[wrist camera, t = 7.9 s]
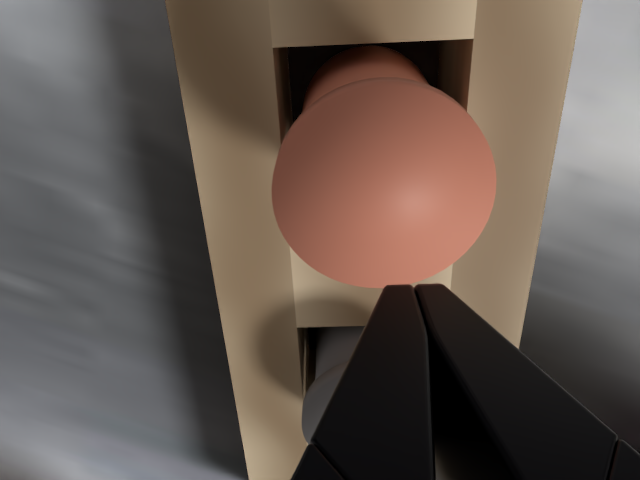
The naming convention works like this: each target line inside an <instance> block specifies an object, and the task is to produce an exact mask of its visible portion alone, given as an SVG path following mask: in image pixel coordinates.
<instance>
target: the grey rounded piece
mask: <svg viewBox="0 0 640 480" xmlns="http://www.w3.org/2000/svg"><path fill="white" fill-rule="evenodd" d="M364 328H365V326H339V327H317V348H316V376H315V381H314V382H313V383H312V384H311V386H310V387H309V389H308V391H307V392H306V395H305V397H304V400H303V406H302V431H303V435H304V438H305V440H306V442H307V443H308V445H309V444H310V440H311V437H312V435H313V433H314V431H315V429H316V427H317V425H318V423H319V421H320V419H321V417H322V415H323V413H324V410H325V408H326V406H327V404H328V402H329V400H330V398H331V396H332V394H333V392H334V390H335V388H336V386H337V384H338V381H339V379H340V377H341V375H342V373H343V371H344V369H345V367H346V365H347V363H348V361H349V359H350V357H351V355H352V352H353V350H354V348H355V346H356V344H357V342H358V340H359V338H360V336H361V334H362V332H363V330H364Z"/></svg>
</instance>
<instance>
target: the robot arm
mask: <svg viewBox="0 0 640 480" xmlns="http://www.w3.org/2000/svg"><path fill="white" fill-rule="evenodd" d="M617 439H618V436H617V434H616V433H615V432H613V431H612V430H611V429H610V428H609V427H608V426H607V425H605V424H604V423H603V422H602V421H601V420H600V419H598V418H597V417H596V416H595V415H594V414H593V413H592V412H590V411H589V410H588V409H587V408H586V407H585V406H583V405H582V404H581V403H580V402H579V401H578V400H577V399H575V398H574V397H573V396H572V395H571V394H570V393H568V392H567V391H566V390H565V389H564V388H563V387H562V386H560V385H559V384H558V383H557V382H556V381H555V380H553V379H552V378H551V377H550V376H549V375H548V374H547V373H545V372H544V371H543V370H542V369H541V368H540V367H538V366H537V365H536V364H535V363H534V362H533V361H532V360H530V359H529V358H528V357H527V356H526V355H525V354H523V353H522V352H521V351H520V350H519V349H518V348H517V347H515V346H514V345H513V344H512V343H511V342H510V341H508V340H507V339H506V338H505V337H504V336H503V335H502V334H500V333H499V332H498V331H497V330H496V329H495V328H493V327H492V326H491V325H490V324H489V323H488V322H487V321H485V320H484V319H483V318H482V317H481V316H480V315H478V314H477V313H476V312H475V311H474V310H473V309H472V308H470V307H469V306H468V305H467V304H466V303H465V302H463V301H462V300H461V299H460V298H459V297H458V296H456V295H455V294H454V293H453V292H452V291H451V290H450V289H448V288H447V287H446V286H445V285H443V284H440V283H433V284H417V285H415V287H413V286H412V285H410V284H395V285H386V286H385V287H384V288H383V290H382V292H381V294H380V297H379V299H378V301H377V303H376V305H375V307H374V309H373V311H372V313H371V315H370V317H369V319H368V321H367V323H366V326H365V328H364V330H363V332H362V334H361V336H360V338H359V340H358V342H357V344H356V346H355V348H354V350H353V352H352V355H351V357H350V359H349V361H348V363H347V365H346V367H345V369H344V371H343V373H342V375H341V377H340V379H339V381H338V384H337V386H336V388H335V390H334V392H333V394H332V396H331V398H330V400H329V402H328V404H327V406H326V408H325V410H324V413H323V415H322V417H321V419H320V421H319V423H318V425H317V427H316V429H315V431H314V433H313V435H312V437H311V440H310V444H309V445H307V447H306V449H305V451H304V453H303V455H302V457H301V459H300V462H299V464H298V466H297V468H296V470H295V472H294V474H293V475H292V477H291V479H290V480H640V454H639V453H638V452H637V451H636V450H635V449H633V448H632V447H631V446H630V445H629V444H628V443H627V442H625V441H624V440H618V441H617Z"/></svg>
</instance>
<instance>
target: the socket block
mask: <svg viewBox="0 0 640 480" xmlns="http://www.w3.org/2000/svg"><path fill="white" fill-rule="evenodd" d="M582 1H583V0H165V4H166V10H167V15H168V21H169V27H170V32H171V38H172V44H173V49H174V55H175V61H176V66H177V72H178V78H179V84H180V89H181V95H182V101H183V106H184V112H185V118H186V123H187V129H188V135H189V140H190V146H191V152H192V158H193V163H194V169H195V175H196V180H197V186H198V192H199V197H200V203H201V209H202V214H203V220H204V226H205V231H206V237H207V243H208V249H209V254H210V260H211V266H212V271H213V277H214V283H215V288H216V294H217V300H218V305H219V311H220V317H221V323H222V328H223V334H224V340H225V345H226V351H227V357H228V362H229V368H230V374H231V379H232V385H233V391H234V397H235V402H236V408H237V414H238V419H239V425H240V431H241V436H242V442H243V448H244V453H245V459H246V465H247V471H248V476H249V480H290V479H291V477H292V475H293V474H294V472H295V470H296V468H297V466H298V464H299V462H300V459H301V457H302V455H303V453H304V451H305V449H306V447H307V445H308V443H307V442H306V440H305V438H304V435H303V431H302V406H303V400H304V397H305V395H306V392H307V391H308V389H309V387H310V386H311V384H312V383H313V382H314V381H315V376H316V349H310V347H309V334H308V327H339V326H366V323H367V321H368V319H369V317H370V315H371V313H372V311H373V309H374V307H375V305H376V303H377V301H378V299H379V297H380V294H381V292H382V290H383V288H366V287H359V286H353V285H349V284H345V283H342V282H339V281H336V280H334V279H331V278H329V277H327V276H325V275H323V274H321V273H319V272H318V271H316V270H315V269H313V268H312V267H310V266H309V265H308V264H306V263H305V262H304V261H303V260H302V259H301V258H300V257H299V256H298V255H297V254H296V253H295V252H294V251H293V250H292V248H291V247H290V246H289V244H288V243H287V241H286V240H285V238H284V237H283V235H282V233H281V231H280V229H279V227H278V224H277V221H276V218H275V215H274V210H273V204H272V179H273V172H274V168H275V164H276V160H277V156H278V152H279V149H280V147H281V144H282V142H283V140H284V137H285V136H286V134H287V132H288V131H289V129H290V127H291V126H292V124H293V115H292V102H291V88H290V74H289V61H288V47H299V46H321V45H344V44H366V43H389V42H411V41H433V40H440V47H439V62H438V78H437V89H439V90H441V91H442V92H444V93H445V94H447V95H448V96H450V97H452V98H453V99H454V100H455V101H456V102H458V103H459V104H460V105H461V106H462V107H463V108H464V109H465V110H466V111H467V112H468V114H469V115H470V116H471V117H472V118H473V120H474V121H475V123H476V124H477V125H478V127H479V128H480V130H481V131H482V133H483V135H484V136H485V138H486V140H487V142H488V144H489V147H490V149H491V152H492V155H493V159H494V163H495V168H496V179H497V181H496V195H495V200H494V205H493V208H492V211H491V214H490V217H489V219H488V221H487V223H486V225H485V227H484V229H483V231H482V233H481V234H480V236H479V237H478V238H477V240H476V241H475V243H474V244H473V245H472V246H471V247H470V248H469V249H468V251H467V252H466V253H465V254H464V255H462V256H461V257H460V258H459V259H458V260H457V261H456V262H454V263H453V264H451V265H450V266H449V267H447V268H446V269H444V270H442V271H441V272H439V273H437V274H435V275H433V276H431V277H429V278H426V279H424V280H422V281H419V282H415V283H412V284H410V285H412V286H413V287H415V285H417V284H433V283H440V284H443V285H445V286H446V287H447V288H448V289H450V290H451V291H452V292H453V293H454V294H455V295H456V296H458V297H459V298H460V299H461V300H462V301H463V302H465V303H466V304H467V305H468V306H469V307H470V308H472V309H473V310H474V311H475V312H476V313H477V314H478V315H480V316H481V317H482V318H483V319H484V320H485V321H487V322H488V323H489V324H490V325H491V326H492V327H493V328H495V329H496V330H497V331H498V332H499V333H500V334H502V335H503V336H504V337H505V338H506V339H507V340H508V341H510V342H511V343H512V344H513V345H514V346H515V347H517V348H518V349H519V345H520V339H521V334H522V328H523V323H524V317H525V312H526V306H527V301H528V296H529V290H530V285H531V279H532V274H533V268H534V263H535V257H536V252H537V246H538V241H539V236H540V230H541V225H542V219H543V214H544V208H545V203H546V197H547V192H548V186H549V181H550V176H551V170H552V165H553V159H554V154H555V148H556V143H557V137H558V132H559V126H560V121H561V116H562V110H563V105H564V99H565V94H566V88H567V83H568V77H569V72H570V66H571V61H572V56H573V50H574V45H575V39H576V34H577V28H578V23H579V17H580V12H581V6H582Z"/></svg>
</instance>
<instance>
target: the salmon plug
mask: <svg viewBox="0 0 640 480" xmlns="http://www.w3.org/2000/svg"><path fill="white" fill-rule="evenodd" d="M496 181H497V179H496V168H495V163H494V159H493V155H492V152H491V149H490V147H489V144H488V142H487V140H486V138H485V136H484V135H483V133H482V131H481V130H480V128H479V127H478V125H477V124H476V123H475V121H474V120H473V118H472V117H471V116H470V115H469V114H468V112H467V111H466V110H465V109H464V108H463V107H462V106H461V105H460V104H459V103H458V102H456V101H455V100H454V99H453V98H452V97H450V96H448V95H447V94H445V93H444V92H442V91H441V90H439V89H437V88H434V87H432V86H430V85H429V84H428V82H427V80H426V79H425V77H424V75H423V74H422V72H421V71H420V69H419V68H418V67H417V66H416V65H415V64H414V63H413V62H412V61H411V60H410V59H409V58H407V57H406V56H404V55H403V54H401V53H399V52H397V51H395V50H393V49H390V48H386V47H382V46H375V45H365V46H357V47H353V48H349V49H347V50H344V51H342V52H340V53H338V54H336V55H334V56H333V57H331V58H330V59H329V60H327V61H326V62H325V63H324V64H323V65H322V66H321V67H320V68H319V69H318V70H317V72H316V73H315V74H314V76H313V77H312V79H311V81H310V83H309V85H308V87H307V90H306V93H305V97H304V102H303V108H302V113H301V114H300V116H299V117H298V118H297V119H296V121H295V122H294V123H293V124H292V126H291V127H290V129H289V131H288V132H287V134H286V136H285V137H284V140H283V142H282V144H281V147H280V149H279V152H278V156H277V160H276V164H275V168H274V172H273V179H272V204H273V210H274V215H275V218H276V221H277V224H278V227H279V229H280V231H281V233H282V235H283V237H284V238H285V240H286V241H287V243H288V244H289V246H290V247H291V248H292V250H293V251H294V252H295V253H296V254H297V255H298V256H299V257H300V258H301V259H302V260H303V261H304V262H305V263H306V264H308V265H309V266H310V267H312V268H313V269H315V270H316V271H318V272H319V273H321V274H323V275H325V276H327V277H329V278H331V279H334V280H336V281H339V282H342V283H345V284H349V285H353V286H359V287H366V288H384V287H385V286H386V285H395V284H412V283H415V282H419V281H422V280H424V279H426V278H429V277H431V276H433V275H435V274H437V273H439V272H441V271H442V270H444V269H446V268H447V267H449V266H450V265H451V264H453V263H454V262H456V261H457V260H458V259H459V258H460V257H461V256H462V255H464V254H465V253H466V252H467V251H468V249H469V248H470V247H471V246H472V245H473V244H474V243H475V241H476V240H477V238H478V237H479V236H480V234H481V233H482V231H483V229H484V227H485V225H486V223H487V221H488V219H489V217H490V214H491V211H492V208H493V205H494V200H495V195H496Z"/></svg>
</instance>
